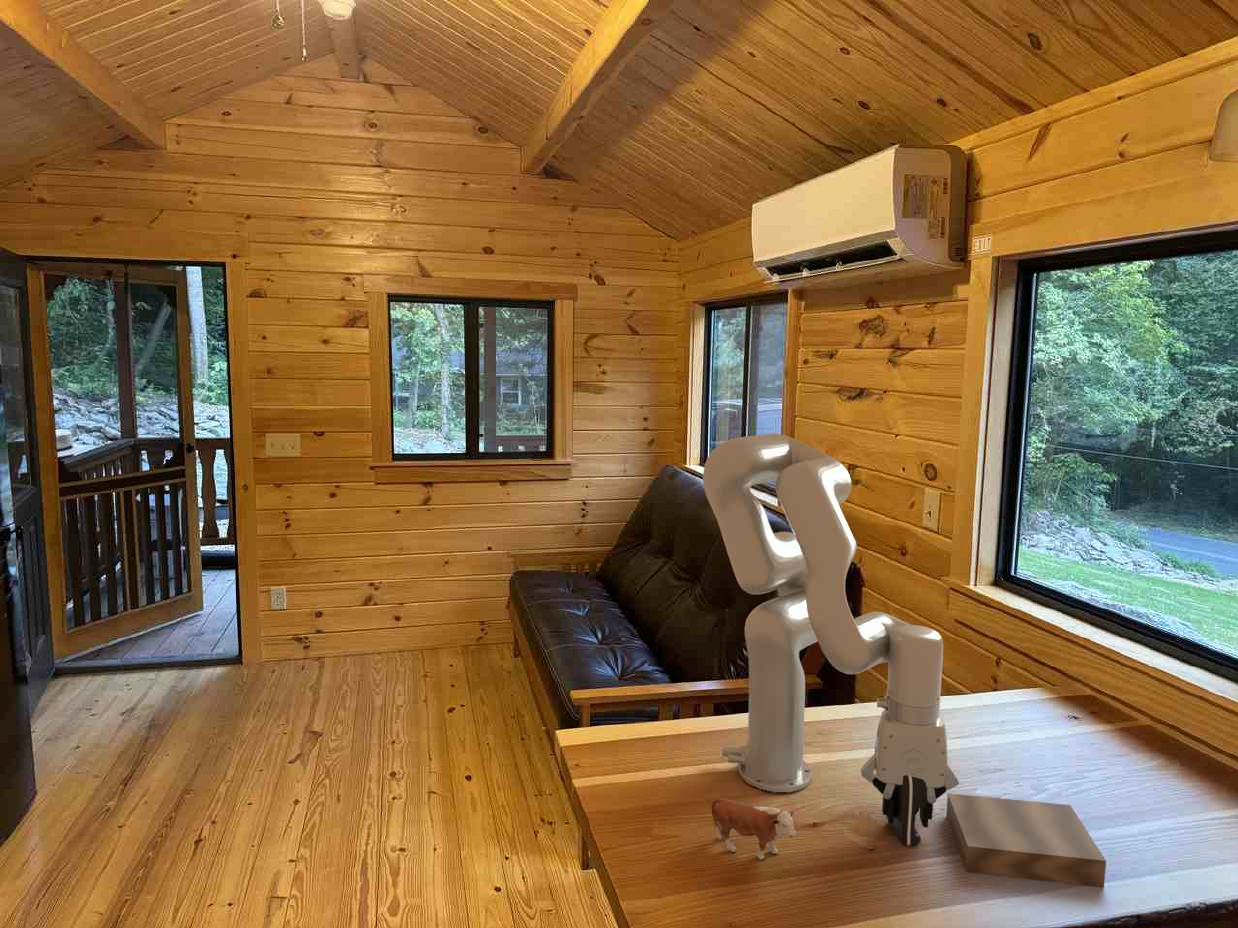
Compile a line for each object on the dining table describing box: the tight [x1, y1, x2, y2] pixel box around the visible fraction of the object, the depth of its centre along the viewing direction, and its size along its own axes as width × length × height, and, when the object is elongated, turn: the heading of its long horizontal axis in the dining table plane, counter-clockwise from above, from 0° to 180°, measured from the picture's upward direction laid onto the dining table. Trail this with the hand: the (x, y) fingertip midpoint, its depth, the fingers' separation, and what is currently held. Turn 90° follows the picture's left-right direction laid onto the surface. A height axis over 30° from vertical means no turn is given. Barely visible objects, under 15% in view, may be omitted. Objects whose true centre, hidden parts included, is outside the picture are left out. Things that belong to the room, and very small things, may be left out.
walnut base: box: [945, 793, 1107, 888], centre depth 121 cm, size 18×14×4 cm
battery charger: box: [890, 775, 927, 846], centre depth 124 cm, size 7×4×11 cm, turn 1°
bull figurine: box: [710, 797, 797, 860], centre depth 120 cm, size 4×13×8 cm, turn 58°
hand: (906, 819), depth 124 cm, fingers open, 4 cm apart
